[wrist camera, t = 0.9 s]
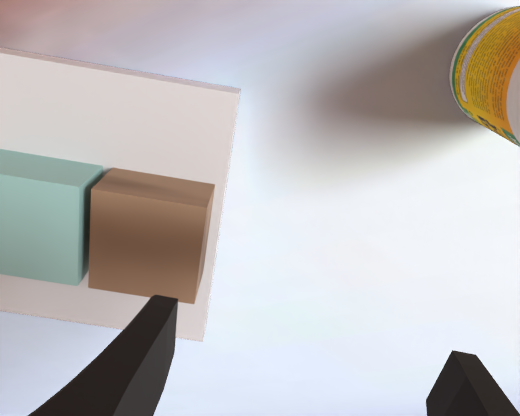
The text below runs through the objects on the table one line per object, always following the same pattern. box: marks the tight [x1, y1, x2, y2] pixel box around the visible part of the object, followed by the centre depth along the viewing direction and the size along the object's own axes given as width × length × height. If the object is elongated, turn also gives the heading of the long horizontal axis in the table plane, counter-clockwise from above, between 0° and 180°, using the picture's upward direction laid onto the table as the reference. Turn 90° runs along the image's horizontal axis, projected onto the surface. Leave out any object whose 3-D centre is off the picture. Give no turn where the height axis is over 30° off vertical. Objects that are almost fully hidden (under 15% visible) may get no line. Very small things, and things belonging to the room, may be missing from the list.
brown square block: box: [88, 168, 215, 304], centre depth 23 cm, size 5×5×3 cm
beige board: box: [0, 47, 241, 342], centre depth 25 cm, size 14×12×2 cm
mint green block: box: [0, 149, 103, 286], centre depth 23 cm, size 5×5×3 cm
